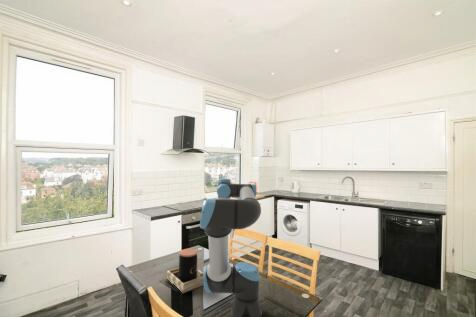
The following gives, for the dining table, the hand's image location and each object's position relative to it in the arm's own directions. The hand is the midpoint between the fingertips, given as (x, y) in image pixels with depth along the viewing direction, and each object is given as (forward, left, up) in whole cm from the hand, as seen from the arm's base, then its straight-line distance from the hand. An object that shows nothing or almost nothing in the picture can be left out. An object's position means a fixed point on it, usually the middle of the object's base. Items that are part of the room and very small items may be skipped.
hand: (223, 239), depth 143 cm
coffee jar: (+13, +16, -26) cm, 33 cm away
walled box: (+15, +16, -27) cm, 35 cm away
